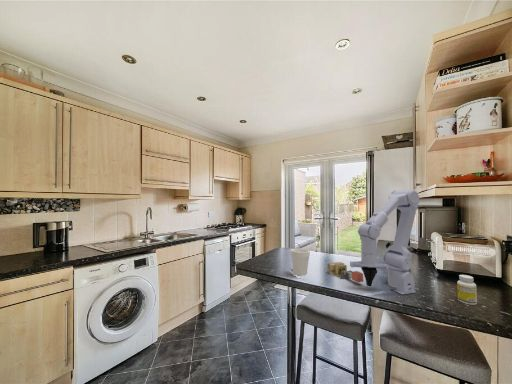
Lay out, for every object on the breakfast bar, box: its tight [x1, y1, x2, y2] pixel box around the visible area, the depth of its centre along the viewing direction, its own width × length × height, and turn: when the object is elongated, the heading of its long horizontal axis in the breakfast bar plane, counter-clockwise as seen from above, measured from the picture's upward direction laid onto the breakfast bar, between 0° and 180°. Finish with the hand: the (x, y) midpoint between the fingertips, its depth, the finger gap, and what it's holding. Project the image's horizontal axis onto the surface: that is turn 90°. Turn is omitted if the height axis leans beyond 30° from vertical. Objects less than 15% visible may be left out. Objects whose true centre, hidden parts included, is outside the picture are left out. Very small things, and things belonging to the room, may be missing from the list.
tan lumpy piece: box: [334, 263, 348, 275], centre depth 109 cm, size 3×5×5 cm, turn 107°
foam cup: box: [290, 247, 310, 276], centre depth 112 cm, size 10×9×13 cm
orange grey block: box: [343, 270, 364, 283], centre depth 101 cm, size 10×3×4 cm, turn 17°
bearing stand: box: [327, 261, 353, 280], centre depth 109 cm, size 11×10×6 cm
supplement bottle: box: [456, 274, 478, 306], centre depth 85 cm, size 5×5×10 cm
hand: (369, 285), depth 92 cm, fingers closed
